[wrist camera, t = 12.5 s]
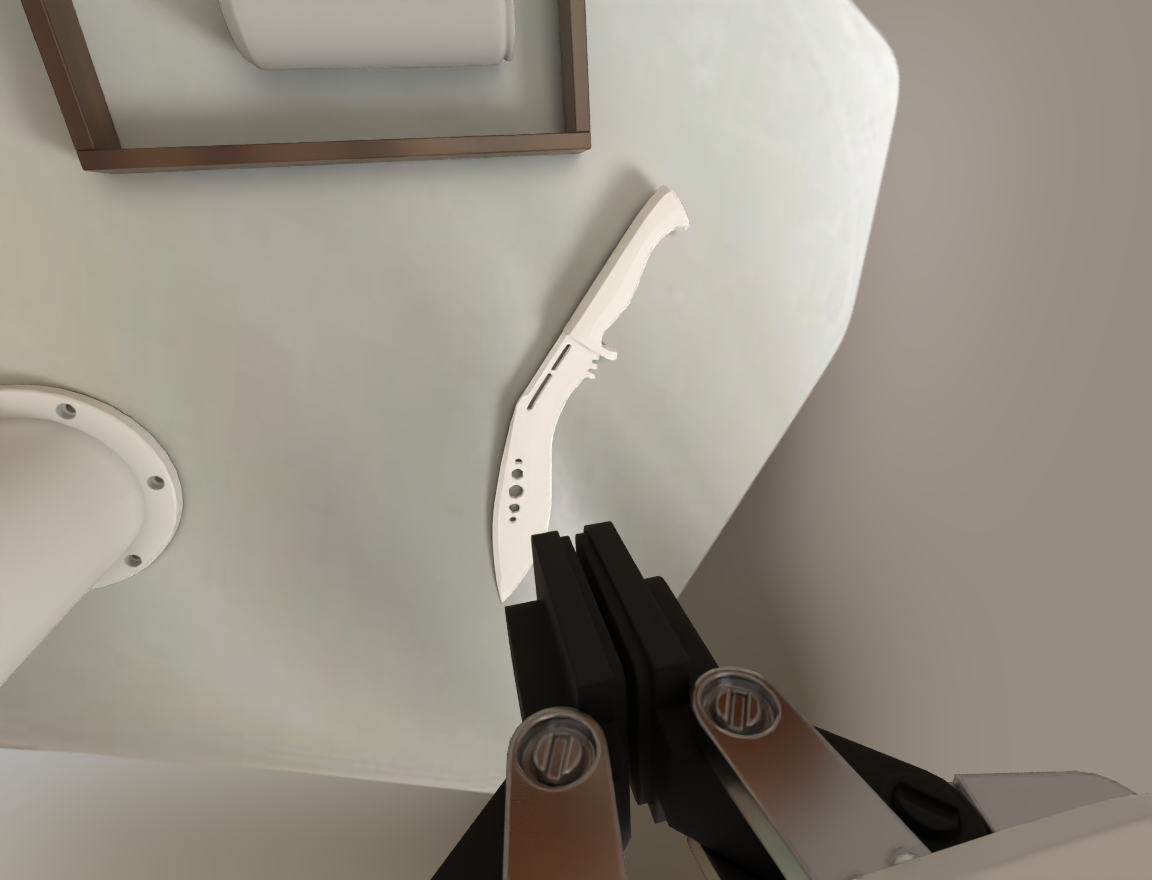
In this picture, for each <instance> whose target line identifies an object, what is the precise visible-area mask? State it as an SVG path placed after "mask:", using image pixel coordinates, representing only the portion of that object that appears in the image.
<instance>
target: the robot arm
mask: <svg viewBox="0 0 1152 880" xmlns="http://www.w3.org/2000/svg"><path fill="white" fill-rule="evenodd" d="M71 406H72V407H73V408H74V409H73V408H72V407H71ZM159 477H160V478H162V479H160V478H159ZM182 508H183V500H182V487H181V484H180V481H179V478H178V475H177V472H176V469H175V467H174V466H173V464H172V462H171V460H170V459H169V457H168V455H167V453H166V452H165V451H164V449H163V448H162V447H161V446H160V445H159V443H158V442H157V441H156V440H155V439H154V438H153V436H152V435H151V434H150V433H148V432H147V431H146V430H145V429H144V428H142V427H141V426H140V425H139V424H138V423H136V422H135V421H134V420H133V419H131V418H130V417H128V416H126V415H125V414H123V413H121V412H120V411H118V410H116V409H115V408H113V407H112V406H110V405H107V404H105V403H103V402H100V401H98V400H96V399H93V398H91V397H89V396H86V395H83V394H79V393H75V392H72V391H68V390H64V389H61V388H55V387H47V386H39V385H2V386H0V686H1V685H2V684H3V683H4V682H5V681H6V680H7V679H8V678H9V677H10V676H11V674H12V673H13V672H14V671H15V670H16V669H17V668H18V667H19V666H20V665H21V664H22V662H23V661H24V660H25V659H26V658H27V657H28V656H29V655H30V654H31V653H32V652H33V650H34V649H35V648H36V647H37V646H38V645H39V644H40V643H41V642H42V641H43V640H44V639H45V637H46V636H47V635H48V634H49V633H50V632H51V631H52V630H53V629H54V628H55V627H56V625H57V624H58V623H59V622H60V621H61V620H62V619H63V618H64V617H65V616H66V615H67V613H68V612H69V611H70V610H71V609H72V608H73V607H74V606H75V605H76V604H77V603H78V602H79V600H80V599H81V598H82V597H83V596H84V595H85V594H86V593H87V592H88V591H89V590H91V589H95V588H99V587H104V586H108V585H112V584H115V583H117V582H119V581H122V580H124V579H127V578H129V577H131V576H133V575H135V574H136V573H138V572H139V571H141V570H142V569H144V568H145V567H147V566H149V565H150V564H151V563H152V562H153V561H154V560H155V559H156V558H157V557H158V556H159V555H160V554H161V553H162V552H163V550H164V549H165V548H166V546H167V545H168V544H169V542H170V541H171V540H172V538H173V536H174V534H175V532H176V530H177V528H178V525H179V523H180V519H181V514H182ZM575 542H576V552H575V549H574V547H573V545H572V542H571V540H570V537H569V536H563V537H560V535H559V533H558V531H551V532H546V533H540V534H534V535H531V546H532V556H533V565H534V575H535V584H536V594H537V600H536V601H531V602H526V603H521V604H516V605H511V606H506V607H505V614H506V622H507V629H508V637H509V644H510V651H511V657H512V664H513V670H514V676H515V683H516V688H517V694H518V700H519V706H520V712H521V718H522V723H521V724H520V725H519V726H518V727H517V729H516V730H515V732H514V734H513V736H512V737H511V739H510V742H509V747H508V752H507V769H506V779H505V781H504V782H503V783H502V785H501V786H500V787H499V789H498V790H497V791H496V793H495V794H494V795H493V797H492V798H491V800H490V801H489V802H488V803H487V805H486V806H485V807H484V809H483V810H482V811H481V813H480V814H479V815H478V817H477V818H476V819H475V821H474V822H473V823H472V825H471V826H470V827H469V829H468V830H467V832H466V833H465V834H464V835H463V837H462V838H461V840H460V841H459V842H458V844H457V845H456V846H455V848H454V849H453V850H452V852H451V853H450V854H449V856H448V857H447V858H446V860H445V861H444V862H443V864H442V865H441V866H440V868H439V869H438V871H437V872H436V873H435V875H434V876H433V877H432V879H431V880H628V879H627V872H626V865H625V859H624V850H625V848H626V846H627V844H628V842H629V840H630V838H631V825H630V790H629V783H630V786H631V789H632V792H633V795H634V797H635V800H636V802H637V804H638V805H642V804H645V803H648V805H649V808H650V811H651V814H652V817H653V819H654V822H655V823H660V822H663V821H667V822H668V825H669V826H670V827H672V828H673V829H675V830H677V831H679V832H681V833H682V834H684V835H686V836H687V842H688V844H689V847H690V849H691V852H692V855H693V856H694V858H695V860H696V862H697V864H698V865H699V867H700V869H701V871H702V873H703V874H704V876H705V878H706V879H707V880H1152V793H1145V794H1136V793H1134V792H1133V791H1131V790H1129V789H1128V788H1126V787H1124V786H1123V785H1121V784H1119V783H1118V782H1116V781H1113V780H1110V779H1108V778H1105V777H1103V776H1100V775H1097V774H1093V773H1086V772H1078V771H1066V772H1029V773H992V774H957V775H955V777H954V780H953V782H946V781H945V780H944V779H942V778H940V777H938V776H936V775H934V774H932V773H930V772H928V771H926V770H923V769H921V768H918V767H916V766H914V765H911V764H909V763H906V762H903V761H901V760H898V759H896V758H893V757H891V756H888V755H886V754H883V753H881V752H878V751H876V750H873V749H871V748H868V747H866V746H863V745H861V744H858V743H856V742H853V741H851V740H848V739H845V738H843V737H840V736H838V735H835V734H833V733H830V732H828V731H825V730H823V729H820V728H818V727H815V726H813V725H812V724H811V723H810V722H809V721H808V720H807V719H806V718H805V717H804V716H803V715H802V713H801V712H800V711H799V710H798V709H797V708H796V707H795V706H794V705H793V704H792V703H791V702H790V701H789V700H788V699H787V698H786V696H785V695H784V694H783V693H782V692H781V691H780V690H779V689H778V688H777V687H776V686H775V685H774V684H772V683H771V682H770V681H769V680H768V679H766V678H765V677H763V676H762V675H759V674H758V673H755V672H754V671H751V670H747V669H743V668H740V667H720V668H719V666H718V665H717V663H716V662H715V660H714V658H713V657H712V655H711V654H710V652H709V650H708V649H707V647H706V646H705V644H704V643H703V641H702V639H701V638H700V636H699V635H698V633H697V631H696V630H695V628H694V627H693V625H692V623H691V622H690V620H689V618H688V617H687V615H686V614H685V612H684V610H683V609H682V607H681V606H680V604H679V602H678V601H677V599H676V598H675V596H674V594H673V593H672V591H671V589H670V588H669V586H668V585H667V583H666V582H665V580H664V579H663V578H662V577H660V576H656V577H651V578H646V579H644V578H643V576H642V575H641V573H640V571H639V569H638V568H637V566H636V564H635V562H634V561H633V559H632V557H631V555H630V554H629V552H628V550H627V548H626V547H625V545H624V543H623V541H622V540H621V538H620V536H619V534H618V533H617V531H616V529H615V527H614V525H613V524H612V522H610V521H608V522H602V523H597V524H591V525H585V526H584V533H580V534H576V536H575Z"/></svg>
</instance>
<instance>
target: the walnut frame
mask: <svg viewBox="0 0 1152 880" xmlns="http://www.w3.org/2000/svg"><path fill="white" fill-rule="evenodd" d="M21 2H22V5H23V8H24V11H25V13H26V16H27V19H28V21H29V24H30V27H31V30H32V32H33V35H34V38H35V40H36V43H37V46H38V49H39V51H40V54H41V57H42V59H43V62H44V65H45V68H46V70H47V73H48V76H49V78H50V81H51V84H52V87H53V89H54V92H55V95H56V97H57V100H58V103H59V106H60V108H61V111H62V114H63V117H64V119H65V122H66V125H67V127H68V130H69V133H70V136H71V138H72V141H73V144H74V146H75V149H76V150H78V151H77V155H78V157H79V160H80V163H81V166H82V168H83V170H85V171H92V172H101V173H109V174H124V173H146V172H169V171H192V170H214V169H237V168H260V167H282V166H305V165H328V164H350V163H373V162H395V161H418V160H441V159H463V158H486V157H509V156H531V155H554V154H577V153H582V152H584V151H586V150H589V149H591V133H590V108H589V83H588V59H587V34H586V10H585V0H558V5H559V23H560V41H561V58H562V76H563V94H564V111H565V129H566V133H545V134H518V135H490V136H463V137H436V138H409V139H381V140H354V141H327V142H299V143H272V144H245V145H218V146H190V147H163V148H136V149H121V146H120V143H119V140H118V137H117V134H116V131H115V128H114V125H113V122H112V119H111V116H110V114H109V111H108V108H107V105H106V102H105V99H104V96H103V93H102V90H101V87H100V84H99V81H98V78H97V75H96V72H95V69H94V66H93V63H92V60H91V57H90V54H89V52H88V49H87V46H86V43H85V40H84V37H83V34H82V31H81V28H80V25H79V22H78V19H77V16H76V13H75V10H74V7H73V4H72V1H71V0H21Z"/></svg>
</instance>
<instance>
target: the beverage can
mask: <svg viewBox="0 0 1152 880" xmlns="http://www.w3.org/2000/svg"><path fill="white" fill-rule="evenodd" d="M218 2H219V5H220V8H221V11H222V14H223V17H224V20H225V22H226V25H227V28H228V30H229V32H230V35H231V37H232V39H233V41H234V43H235V45H236V47H237V49H238V51H239V52H240V54H241V55H242V56H243V58H245V59H246V60H247V61H249V62H250V63H252V64H253V65H255V66H257V67H258V68H260V69H263V70H275V69H320V68H415V67H449V66H482V65H497V64H499V62H500V61H501V60H502V58H504V59H505V60H506V61H511V60H512V58H513V53H514V41H515V21H514V0H218Z"/></svg>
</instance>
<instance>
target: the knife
mask: <svg viewBox="0 0 1152 880" xmlns="http://www.w3.org/2000/svg"><path fill="white" fill-rule="evenodd" d="M689 226H690V223H689V220H688V217H687V214H686V212H685V210H684V208H683V206H682V203H681V202H680V200H679V198H678V197H677V195H676V194H675V193H674V192H673V191H672V190H671V189H670V188H669V187H668V186H666V185H662V186H661V187H660V188H659V189H658V190H657V191H656V192H655V193H654V194H653V196H652V197H651V198H650V199H649V200H648V202H647V203H646V204H645V205H644V207H643V208H642V209H641V211H640V212H639V213H638V215H637V216H636V218H635V219H634V221H633V222H632V224H631V225H630V227H629V228H628V230H627V231H626V233H625V234H624V236H623V237H622V239H621V241H620V242H619V244H618V245H617V247H616V248H615V250H614V251H613V253H612V255H611V256H610V258H609V259H608V261H607V262H606V264H605V265H604V267H603V269H602V270H601V272H600V273H599V275H598V276H597V278H596V279H595V281H594V283H593V284H592V286H591V287H590V289H589V290H588V292H587V293H586V295H585V297H584V298H583V300H582V301H581V303H580V304H579V306H578V308H577V309H576V311H575V312H574V314H573V315H572V317H571V318H570V320H569V321H568V323H567V324H566V325H565V327H564V329H563V332H562V334H561V335H560V337H559V339H558V340H557V342H556V343H555V345H554V346H553V348H552V349H551V351H550V353H549V354H548V356H547V357H546V359H545V360H544V362H543V363H542V365H541V367H540V368H539V370H538V371H537V373H536V374H535V376H534V377H533V379H532V381H531V382H530V384H529V385H528V387H527V388H526V390H525V391H524V393H523V394H522V395H521V396H520V398H519V400H518V401H517V403H516V407H515V411H514V414H513V417H512V420H511V423H510V427H509V432H508V436H507V440H506V445H505V449H504V453H503V458H502V462H501V468H500V473H499V478H498V484H497V490H496V497H495V504H494V512H493V529H492V532H493V554H494V565H495V573H496V580H497V585H498V591H499V595H500V599H501V603H502V602H503V601H505V600H506V599H507V598H508V597H509V595H510V594H511V593H512V592H513V591H514V590H515V588H516V587H517V586H518V584H519V583H520V582H521V580H522V579H523V578H524V576H525V575H526V573H527V572H528V570H529V569H530V567H531V565H532V564H533V556H532V546H531V535H534V534H540V533H546V532H547V529H548V524H549V518H550V512H551V498H552V465H551V454H552V442H553V435H554V431H555V427H556V423H557V420H558V417H559V415H560V413H561V410H562V408H563V406H564V405H565V403H566V401H567V399H568V398H569V396H570V395H571V393H572V392H573V390H574V389H575V388H576V387H577V386H578V385H579V384H580V383H581V382H582V380H583V378H586V377H587V378H592V379H594V377H595V373H593V372H589V371H587V370H588V369H589V368H591V369H597V364H596V363H593V362H592V360H593V359H594V360H599V357H600V355H601V356H602V357H604V358H606V359H608V360H616V358H617V350H616V349H615V348H613V347H611V346H605V345H603V344H601V338H602V336H603V333H604V331H605V330H606V329H607V328H608V327H609V326H610V325H611V324H612V323H613V322H614V321H615V320H616V319H617V318H618V317H619V316H620V314H621V313H622V312H623V311H624V310H625V308H626V307H627V306H628V305H629V303H630V301H631V299H632V297H633V295H634V293H635V291H636V289H637V287H638V284H639V282H640V279H641V276H642V274H643V271H644V268H645V265H646V263H647V260H648V257H649V255H650V254H651V252H652V250H653V249H654V247H655V246H656V245H657V244H658V243H659V242H660V241H661V240H662V239H663V238H664V237H665V236H666V235H667V234H669V233H670V232H671V231H673V230H677V229H679V230H686V229H688V228H689ZM567 344H570V346H569V348H568V349H567V351H566V352H565V354H564V356H563V357H562V359H561V360H560V362H559V363H558V365H557V366H556V368H555V369H554V370H552V367H553V365H554V364H555V362H556V361H557V359H558V357H559V356H560V354H561V353H562V351H563V350H564V348H565V346H566V345H567ZM548 373H550V374H551V376H550V378H549V379H548V381H547V382H546V384H545V385H544V387H543V388H542V390H541V391H540V393H539V395H538V396H537V398H536V400H535V401H534V403H533V405H532V407H531V409H527V407H528V405H529V403H530V401H531V400H532V398H533V397H534V395H535V393H536V392H537V390H538V389H539V387H540V385H541V384H542V382H543V381H544V379H545V378H546V376H547V375H548ZM518 458H519V459H521V461H522V462H515V460H516V459H518ZM515 469H520V470H522V471H523V476H521V477H518V478H515V477H513V476H512V471H513V470H515ZM516 484H517V485H519V486H521V487H522V488H523V491H522V493H521V495H519V496H517V497H514V496H510V495H509V492H508V491H509V489H510V487H511V486H514V485H516ZM514 503H516V504H518V505H519V510H517V511H514V512H512V511H511V510H510V509H509V505H511V504H514ZM511 517H515V518H516V520H514V521H510V518H511Z"/></svg>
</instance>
